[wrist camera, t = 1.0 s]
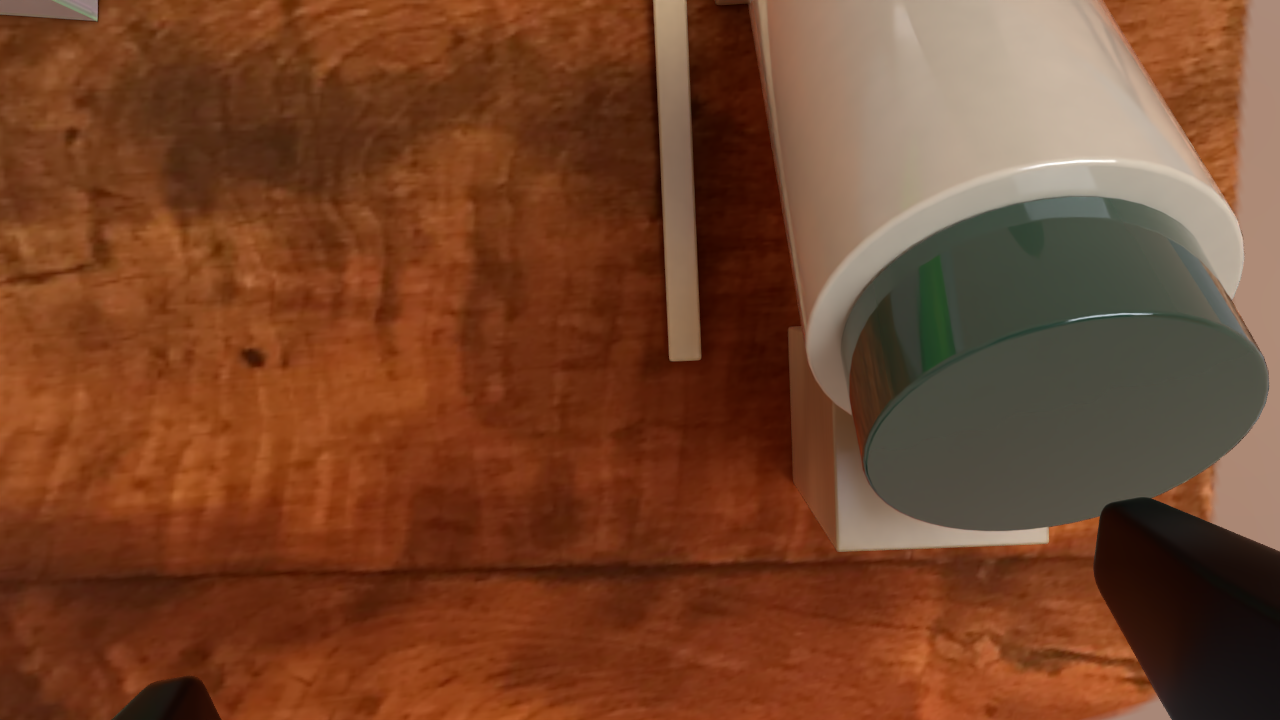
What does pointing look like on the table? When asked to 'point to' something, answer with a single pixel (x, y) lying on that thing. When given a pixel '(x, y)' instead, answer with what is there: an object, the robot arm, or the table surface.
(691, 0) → the table surface
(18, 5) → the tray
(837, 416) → the jar stand
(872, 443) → the jar
